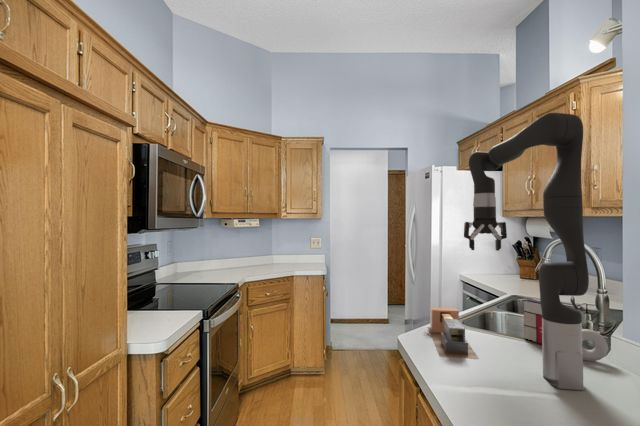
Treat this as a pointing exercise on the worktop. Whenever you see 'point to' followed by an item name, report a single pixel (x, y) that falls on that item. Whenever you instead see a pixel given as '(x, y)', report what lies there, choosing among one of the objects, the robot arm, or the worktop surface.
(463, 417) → the worktop surface
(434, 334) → the base board
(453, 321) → the sleeve
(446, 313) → the yellow square peg
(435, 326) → the socket block
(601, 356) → the donut
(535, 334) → the grey and red box
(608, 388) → the worktop surface
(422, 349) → the worktop surface
